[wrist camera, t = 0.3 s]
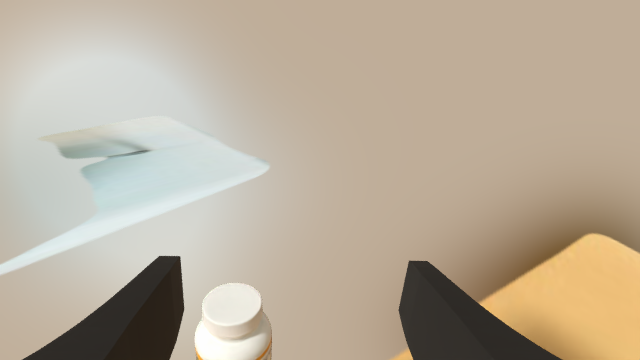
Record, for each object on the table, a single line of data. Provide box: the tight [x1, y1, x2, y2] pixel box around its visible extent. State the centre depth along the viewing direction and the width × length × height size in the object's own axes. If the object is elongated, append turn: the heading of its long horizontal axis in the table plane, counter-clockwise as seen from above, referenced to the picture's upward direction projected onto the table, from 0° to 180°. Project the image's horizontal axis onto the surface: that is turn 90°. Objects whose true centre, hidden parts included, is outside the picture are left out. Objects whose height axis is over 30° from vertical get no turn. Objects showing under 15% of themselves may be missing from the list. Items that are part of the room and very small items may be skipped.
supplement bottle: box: [195, 283, 272, 360], centre depth 28 cm, size 5×5×10 cm
